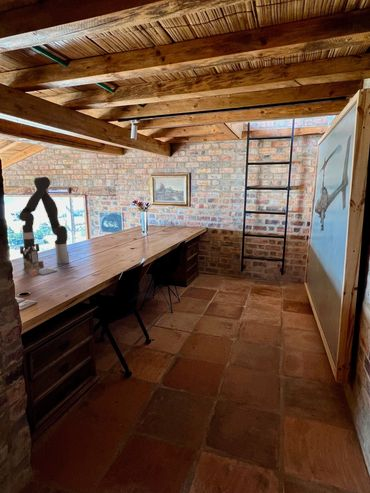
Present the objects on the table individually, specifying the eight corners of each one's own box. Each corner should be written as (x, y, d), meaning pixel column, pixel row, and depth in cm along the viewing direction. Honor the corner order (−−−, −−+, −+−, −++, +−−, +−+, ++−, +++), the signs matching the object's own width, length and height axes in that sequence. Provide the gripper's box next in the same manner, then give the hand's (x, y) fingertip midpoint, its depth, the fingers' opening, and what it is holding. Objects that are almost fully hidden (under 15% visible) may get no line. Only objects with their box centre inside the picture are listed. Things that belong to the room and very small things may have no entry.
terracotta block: (34, 274, 215) (33, 269, 214) (37, 274, 213) (37, 269, 212) (29, 275, 211) (28, 270, 210) (32, 276, 209) (32, 271, 209)
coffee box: (39, 269, 226) (37, 250, 223) (33, 271, 220) (31, 252, 217) (30, 268, 229) (28, 249, 225) (24, 270, 222) (22, 251, 219)
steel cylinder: (27, 267, 232) (27, 261, 231) (30, 268, 230) (29, 262, 229) (23, 268, 229) (22, 262, 228) (25, 269, 227) (25, 263, 226)
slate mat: (47, 269, 227) (47, 268, 227) (56, 271, 221) (56, 270, 221) (33, 273, 217) (33, 272, 217) (42, 275, 211) (42, 274, 211)
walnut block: (39, 265, 238) (39, 260, 237) (43, 266, 235) (42, 260, 234) (34, 267, 233) (33, 261, 232) (37, 268, 231) (37, 262, 230)
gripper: (34, 236, 227) (36, 255, 230) (16, 238, 215) (19, 259, 218) (40, 237, 223) (41, 256, 226) (22, 239, 211) (24, 260, 214)
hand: (30, 257), depth 222 cm, fingers open, 8 cm apart
